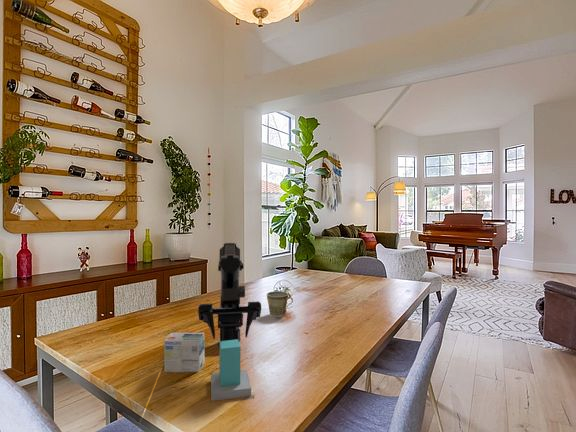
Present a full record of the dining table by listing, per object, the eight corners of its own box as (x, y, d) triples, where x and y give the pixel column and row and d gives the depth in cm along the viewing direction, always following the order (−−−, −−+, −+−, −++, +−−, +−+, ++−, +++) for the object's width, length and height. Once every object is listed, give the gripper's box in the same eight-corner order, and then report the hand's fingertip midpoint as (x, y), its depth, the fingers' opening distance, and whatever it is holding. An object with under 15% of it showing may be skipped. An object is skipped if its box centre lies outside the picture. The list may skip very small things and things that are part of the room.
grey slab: (211, 380, 92) (211, 373, 92) (246, 376, 94) (246, 369, 94) (211, 400, 82) (211, 392, 82) (251, 395, 85) (251, 388, 85)
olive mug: (262, 316, 151) (262, 294, 151) (273, 310, 160) (273, 290, 160) (287, 321, 145) (287, 298, 145) (297, 315, 154) (297, 293, 153)
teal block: (219, 377, 90) (219, 341, 90) (237, 375, 91) (237, 339, 91) (221, 387, 85) (221, 348, 85) (240, 384, 87) (240, 346, 86)
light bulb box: (205, 365, 104) (205, 331, 103) (200, 376, 97) (200, 340, 97) (170, 365, 103) (170, 331, 103) (163, 376, 96) (163, 340, 96)
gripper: (198, 277, 98) (195, 327, 88) (261, 275, 102) (264, 323, 91) (200, 296, 106) (197, 344, 96) (258, 294, 110) (261, 340, 99)
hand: (230, 337), depth 95 cm, fingers open, 9 cm apart
